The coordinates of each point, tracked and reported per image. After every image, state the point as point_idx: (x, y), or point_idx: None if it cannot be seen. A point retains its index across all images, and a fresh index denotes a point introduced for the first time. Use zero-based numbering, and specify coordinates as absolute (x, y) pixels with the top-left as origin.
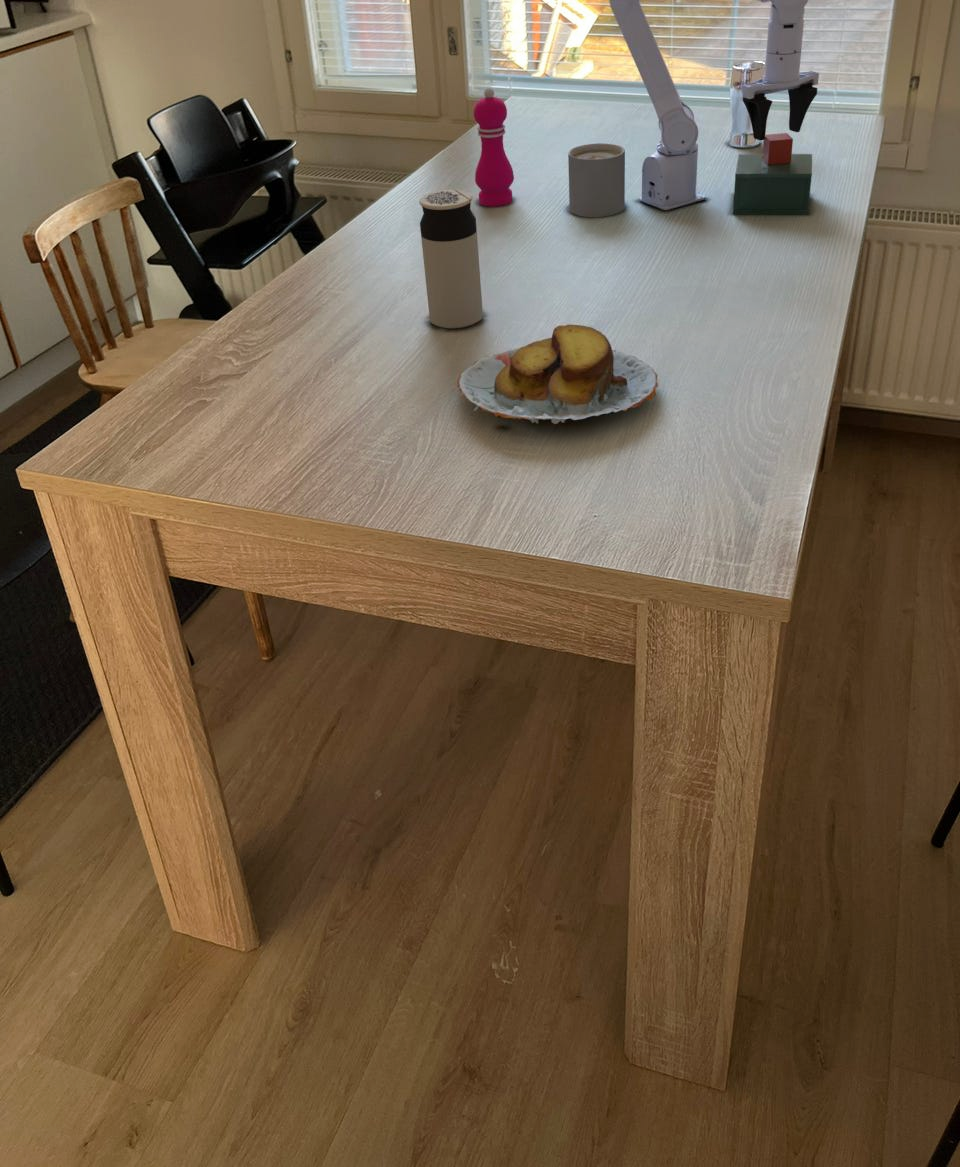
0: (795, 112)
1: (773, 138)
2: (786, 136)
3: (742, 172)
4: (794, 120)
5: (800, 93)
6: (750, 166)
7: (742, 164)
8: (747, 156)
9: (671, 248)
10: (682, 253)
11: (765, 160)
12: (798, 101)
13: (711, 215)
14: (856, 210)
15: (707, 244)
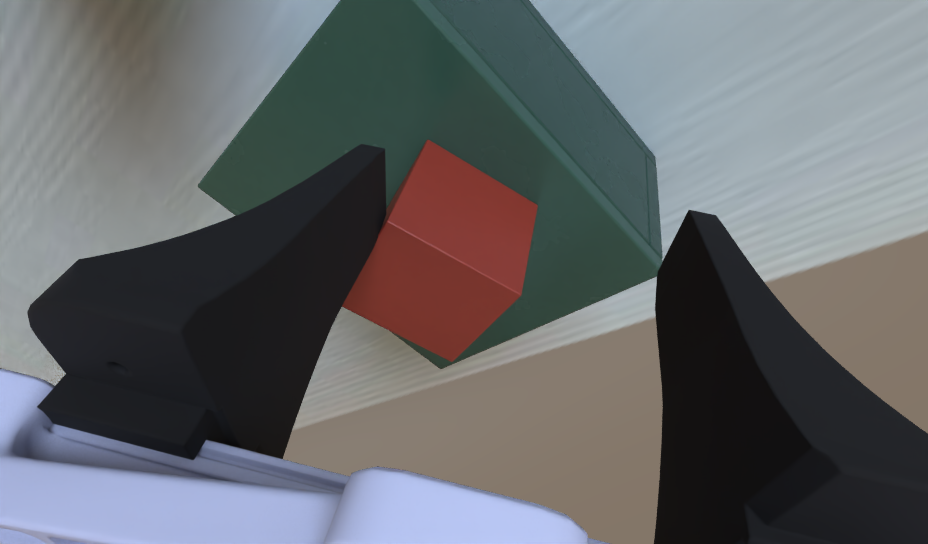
0: (692, 346)
1: (381, 297)
2: (461, 326)
3: (231, 198)
4: (681, 298)
5: (686, 533)
6: (303, 174)
7: (285, 125)
8: (389, 44)
9: (19, 152)
10: (45, 193)
11: (395, 194)
12: (690, 447)
13: (213, 35)
14: (606, 328)
15: (122, 199)
